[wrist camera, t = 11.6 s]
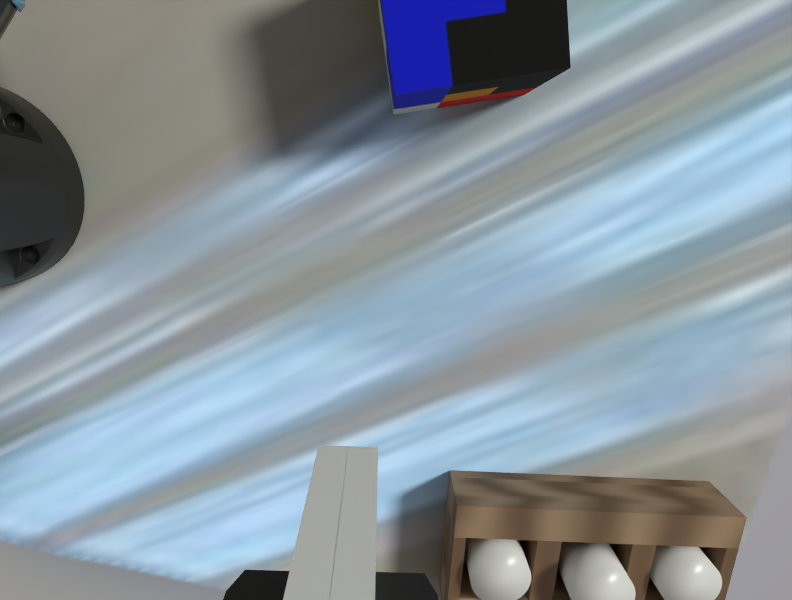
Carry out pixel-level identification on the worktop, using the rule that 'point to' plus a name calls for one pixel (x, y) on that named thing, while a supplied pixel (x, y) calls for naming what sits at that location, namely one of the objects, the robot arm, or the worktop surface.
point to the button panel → (585, 525)
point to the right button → (685, 574)
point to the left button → (497, 568)
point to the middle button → (593, 572)
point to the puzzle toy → (470, 49)
